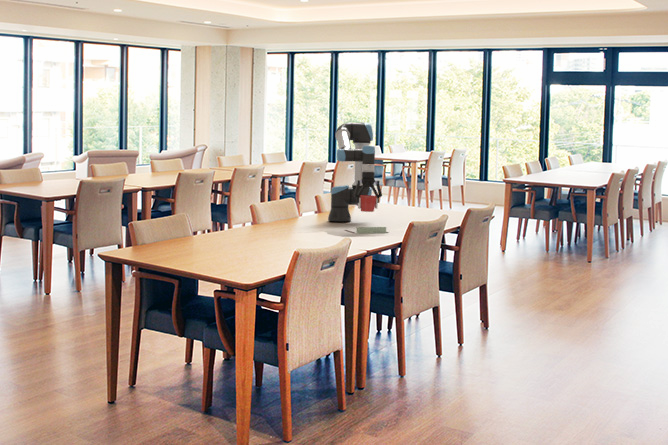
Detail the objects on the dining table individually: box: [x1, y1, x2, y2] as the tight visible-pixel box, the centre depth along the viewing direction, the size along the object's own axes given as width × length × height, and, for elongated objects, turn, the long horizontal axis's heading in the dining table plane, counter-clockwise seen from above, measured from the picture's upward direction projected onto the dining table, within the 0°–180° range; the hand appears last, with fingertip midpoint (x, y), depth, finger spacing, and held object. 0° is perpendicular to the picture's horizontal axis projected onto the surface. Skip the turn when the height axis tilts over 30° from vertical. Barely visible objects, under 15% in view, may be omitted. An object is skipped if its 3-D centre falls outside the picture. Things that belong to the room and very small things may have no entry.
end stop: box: [355, 226, 387, 234], centre depth 455 cm, size 2×18×4 cm, turn 106°
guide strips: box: [344, 229, 390, 234], centre depth 464 cm, size 18×22×1 cm
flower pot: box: [359, 194, 377, 213], centre depth 461 cm, size 11×11×10 cm
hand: (367, 208), depth 461 cm, fingers closed on flower pot, 10 cm apart
